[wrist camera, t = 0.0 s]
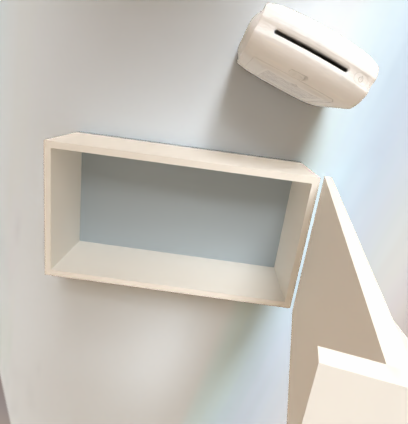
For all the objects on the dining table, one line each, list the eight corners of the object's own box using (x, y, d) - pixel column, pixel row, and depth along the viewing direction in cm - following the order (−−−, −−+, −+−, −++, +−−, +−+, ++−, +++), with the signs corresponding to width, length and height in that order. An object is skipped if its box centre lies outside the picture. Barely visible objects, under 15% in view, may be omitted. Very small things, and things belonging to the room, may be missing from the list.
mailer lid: (318, 363, 8) (424, 391, 7) (306, 173, 31) (331, 177, 30) (226, 691, 12) (290, 722, 11) (277, 306, 35) (298, 312, 35)
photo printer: (342, 72, 35) (403, 59, 24) (318, 112, 37) (365, 118, 25) (250, 20, 34) (266, -20, 23) (229, 63, 36) (234, 46, 24)
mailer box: (78, 131, 38) (43, 139, 31) (300, 162, 38) (320, 177, 31) (76, 242, 42) (44, 274, 35) (277, 270, 42) (289, 308, 35)
